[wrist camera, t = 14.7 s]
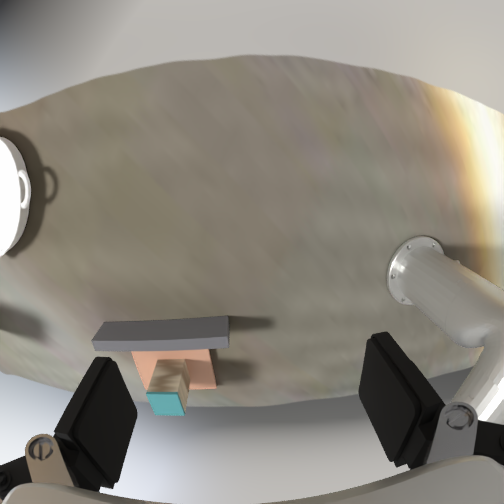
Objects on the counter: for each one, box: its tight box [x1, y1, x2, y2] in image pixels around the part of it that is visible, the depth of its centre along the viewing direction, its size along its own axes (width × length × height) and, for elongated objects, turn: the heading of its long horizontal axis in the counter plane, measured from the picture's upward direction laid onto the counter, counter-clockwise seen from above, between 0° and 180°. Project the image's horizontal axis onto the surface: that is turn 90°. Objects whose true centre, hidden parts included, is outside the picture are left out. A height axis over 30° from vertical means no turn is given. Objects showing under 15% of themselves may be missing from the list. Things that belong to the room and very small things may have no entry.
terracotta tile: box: [131, 349, 217, 389], centre depth 49 cm, size 14×10×1 cm
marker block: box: [146, 359, 190, 415], centre depth 44 cm, size 5×5×9 cm
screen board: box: [91, 316, 230, 351], centre depth 43 cm, size 22×2×6 cm, turn 95°
